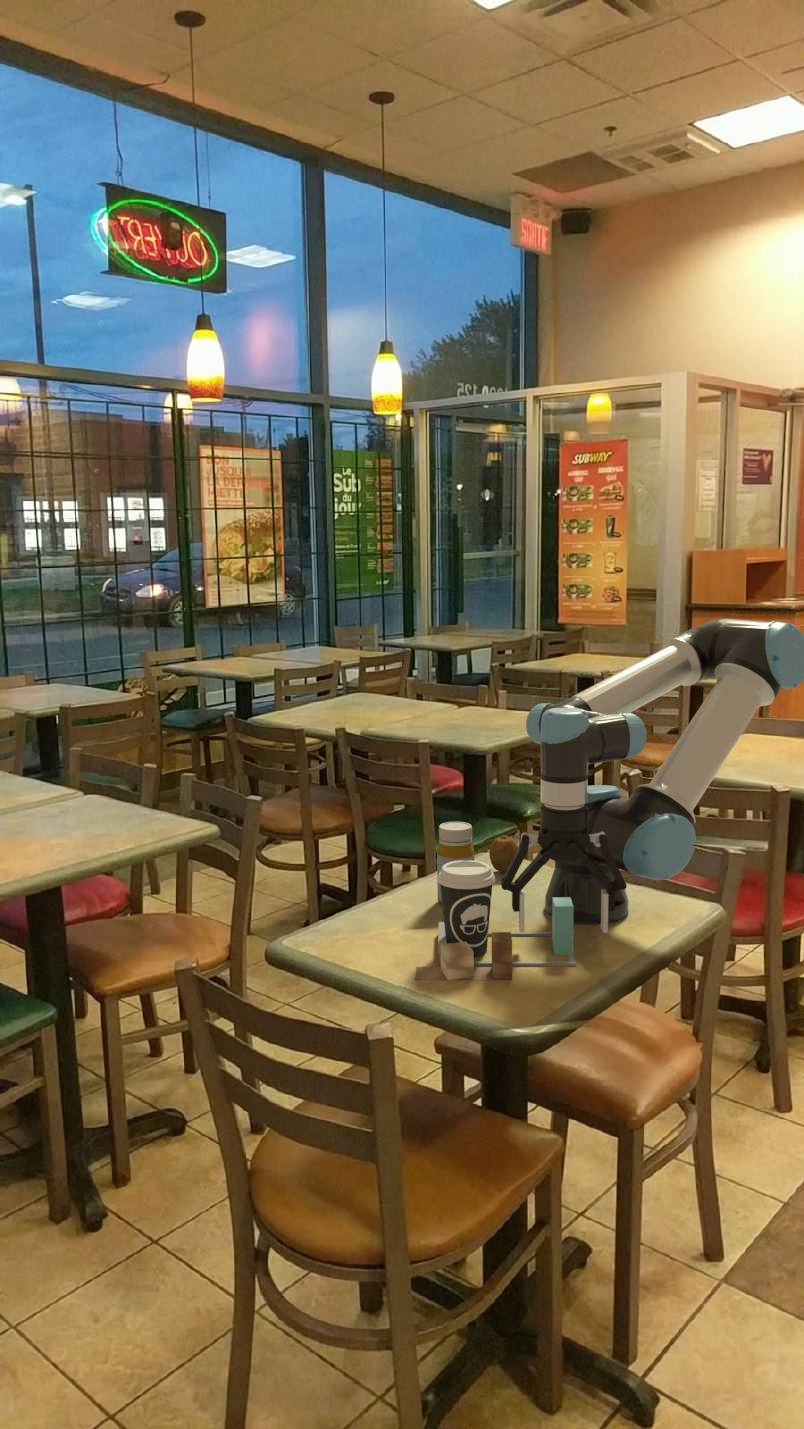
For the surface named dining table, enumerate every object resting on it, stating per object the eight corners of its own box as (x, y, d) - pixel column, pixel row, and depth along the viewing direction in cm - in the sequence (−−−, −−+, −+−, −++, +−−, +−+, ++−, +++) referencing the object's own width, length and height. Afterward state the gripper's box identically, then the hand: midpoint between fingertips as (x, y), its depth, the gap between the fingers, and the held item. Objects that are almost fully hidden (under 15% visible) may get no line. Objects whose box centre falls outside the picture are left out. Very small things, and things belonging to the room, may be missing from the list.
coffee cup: (503, 947, 177) (502, 861, 175) (485, 969, 169) (484, 879, 166) (449, 940, 181) (448, 856, 178) (429, 961, 172) (428, 872, 170)
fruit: (520, 868, 219) (520, 831, 218) (518, 878, 213) (518, 839, 212) (490, 867, 220) (490, 830, 219) (487, 876, 214) (487, 838, 213)
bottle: (481, 900, 201) (480, 823, 198) (463, 911, 195) (462, 832, 192) (449, 894, 204) (448, 819, 202) (430, 904, 199) (429, 827, 196)
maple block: (466, 966, 168) (466, 941, 167) (473, 977, 164) (473, 951, 163) (440, 969, 167) (440, 944, 166) (447, 980, 163) (447, 954, 162)
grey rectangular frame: (567, 938, 181) (567, 888, 179) (576, 970, 167) (576, 916, 166) (438, 938, 182) (438, 888, 180) (437, 970, 168) (437, 916, 167)
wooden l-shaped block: (510, 971, 167) (510, 930, 166) (512, 984, 162) (512, 942, 161) (416, 971, 168) (415, 930, 167) (415, 984, 163) (414, 942, 162)
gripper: (637, 798, 173) (635, 921, 176) (485, 799, 174) (486, 921, 178) (645, 809, 166) (643, 938, 169) (487, 810, 167) (487, 938, 170)
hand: (562, 929), depth 173 cm, fingers open, 13 cm apart
